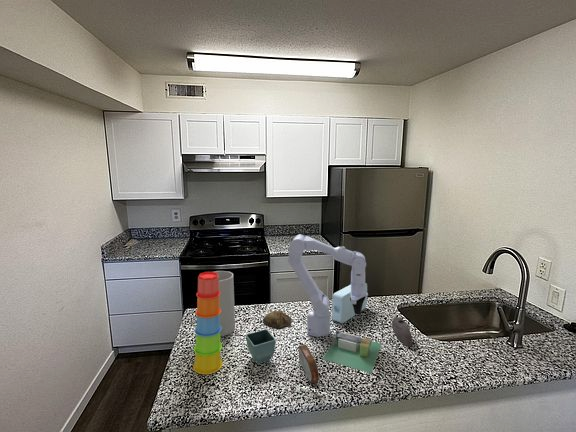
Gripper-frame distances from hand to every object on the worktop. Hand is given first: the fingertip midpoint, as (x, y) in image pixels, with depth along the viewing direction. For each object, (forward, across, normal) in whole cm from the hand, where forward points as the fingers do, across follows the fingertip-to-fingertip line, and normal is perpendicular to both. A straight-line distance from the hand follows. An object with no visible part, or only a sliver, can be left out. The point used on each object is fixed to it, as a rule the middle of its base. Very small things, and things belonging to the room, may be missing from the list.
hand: (357, 313), depth 129 cm
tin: (+10, -31, +10) cm, 34 cm away
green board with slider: (+10, -12, -2) cm, 16 cm away
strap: (+7, -9, 0) cm, 12 cm away
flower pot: (+10, -31, +28) cm, 43 cm away
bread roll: (+10, -3, +36) cm, 38 cm away
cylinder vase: (+10, -21, +56) cm, 60 cm away
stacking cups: (+10, -43, +44) cm, 62 cm away
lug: (+10, -12, -6) cm, 16 cm away
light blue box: (+11, +19, +8) cm, 23 cm away
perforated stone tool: (+11, +6, -18) cm, 22 cm away
